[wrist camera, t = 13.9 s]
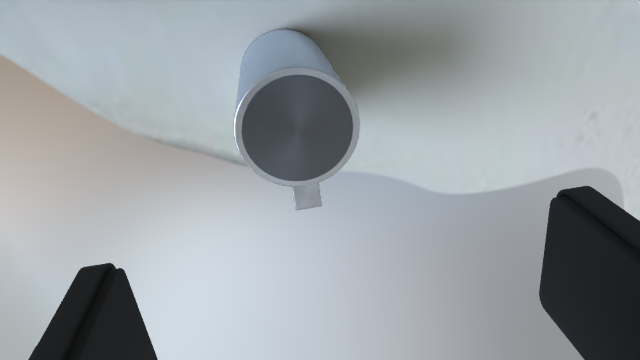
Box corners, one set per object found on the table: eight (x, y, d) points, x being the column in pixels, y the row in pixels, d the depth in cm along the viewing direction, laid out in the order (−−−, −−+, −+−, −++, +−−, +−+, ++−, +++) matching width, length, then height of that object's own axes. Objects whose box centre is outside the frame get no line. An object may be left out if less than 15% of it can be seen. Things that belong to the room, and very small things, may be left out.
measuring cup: (232, 35, 27) (221, 77, 18) (322, 23, 27) (355, 58, 18) (252, 140, 30) (251, 221, 21) (333, 128, 30) (366, 203, 21)
